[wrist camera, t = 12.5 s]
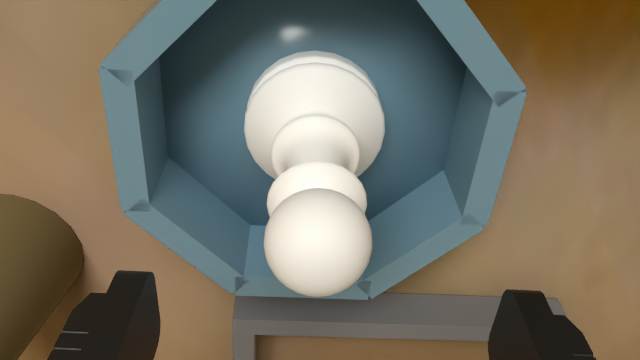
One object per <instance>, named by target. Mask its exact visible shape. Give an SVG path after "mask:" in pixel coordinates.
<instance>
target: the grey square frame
mask: <svg viewBox="0 0 640 360" xmlns="http://www.w3.org/2000/svg"><path fill="white" fill-rule="evenodd" d="M501 298H502V297H492V296H462V295H432V294H402V293H381V294H379V295H377V296H376V297H374V298H373V299H372V298H371V297H369V296H368V300H356V299H325V298H294V297H264V296H236V298H235V305H234V312H233V319H232V322H233V360H257V335H276V336H311V337H346V338H381V339H416V340H451V341H486V342H488V340H489V334H490V331H491V328H492V325H493V322H494V319H495V316H496V313H497V310H498V307H499V304H500V301H501ZM546 300H547V302H548V304H549V306H550V308H551V310H552V312H553V314H554V315H565V316H566V314H565V312H564V310H563V308H562V306H561V304H560V302H559V301H558V299H552V298H546ZM566 317H567V316H566ZM567 318H568V317H567Z"/></svg>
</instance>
